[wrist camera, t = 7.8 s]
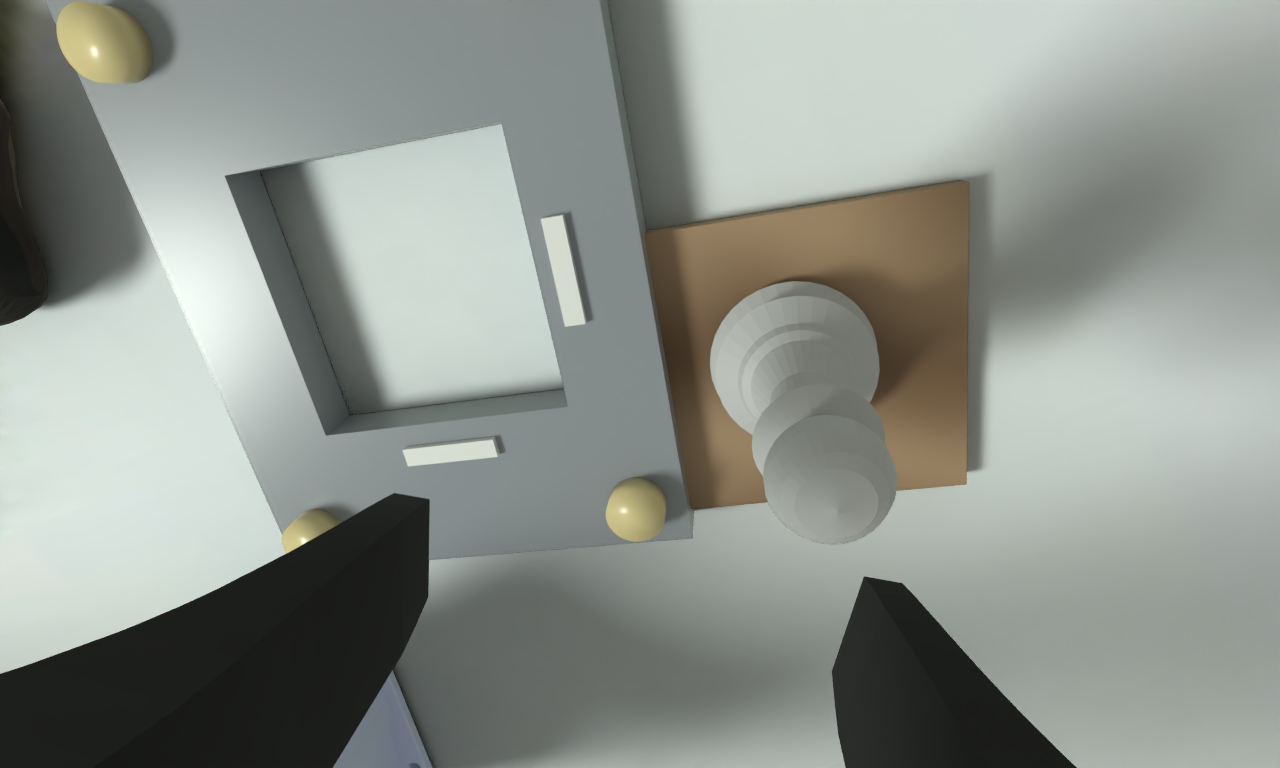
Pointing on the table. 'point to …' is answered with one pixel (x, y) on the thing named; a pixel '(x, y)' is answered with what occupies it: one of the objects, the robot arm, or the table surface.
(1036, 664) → the table surface
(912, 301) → the walnut pad
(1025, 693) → the table surface
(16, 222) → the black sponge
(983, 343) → the table surface
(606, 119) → the cover plate
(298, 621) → the robot arm
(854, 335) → the chess piece
